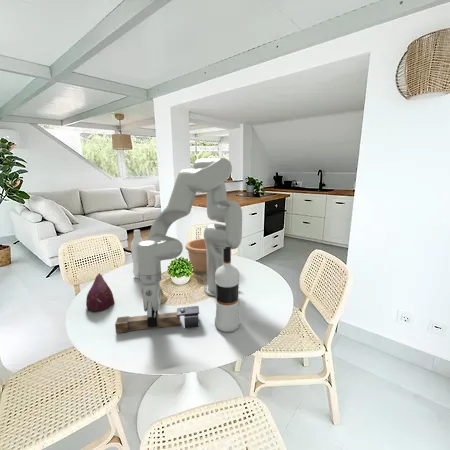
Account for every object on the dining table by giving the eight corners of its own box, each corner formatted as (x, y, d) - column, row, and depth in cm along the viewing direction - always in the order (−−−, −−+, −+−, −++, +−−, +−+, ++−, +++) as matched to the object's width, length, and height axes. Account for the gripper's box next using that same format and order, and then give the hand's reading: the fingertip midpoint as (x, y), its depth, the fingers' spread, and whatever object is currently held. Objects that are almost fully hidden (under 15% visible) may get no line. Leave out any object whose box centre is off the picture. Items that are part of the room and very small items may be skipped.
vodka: (215, 334, 87) (214, 252, 80) (214, 318, 96) (212, 243, 89) (241, 332, 88) (242, 251, 81) (238, 316, 97) (238, 242, 90)
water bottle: (150, 275, 134) (147, 229, 129) (139, 280, 128) (135, 232, 123) (141, 272, 138) (137, 228, 132) (130, 277, 132) (126, 230, 126)
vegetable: (96, 306, 111) (92, 272, 111) (119, 303, 110) (115, 269, 110) (81, 314, 100) (76, 277, 101) (106, 311, 100) (101, 274, 100)
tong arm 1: (180, 322, 93) (179, 314, 92) (180, 325, 91) (179, 317, 90) (117, 329, 90) (116, 320, 89) (116, 332, 88) (115, 324, 87)
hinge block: (198, 315, 98) (198, 302, 96) (199, 327, 91) (199, 313, 90) (177, 318, 97) (177, 304, 95) (177, 329, 90) (176, 315, 89)
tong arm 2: (180, 319, 95) (179, 310, 94) (180, 322, 93) (179, 313, 93) (118, 325, 91) (117, 317, 91) (117, 329, 90) (116, 320, 89)
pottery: (229, 273, 136) (229, 248, 132) (188, 278, 131) (187, 251, 128) (220, 259, 156) (220, 237, 153) (184, 262, 151) (183, 239, 148)
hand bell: (143, 301, 108) (140, 267, 104) (156, 293, 115) (153, 260, 112) (158, 306, 105) (155, 270, 101) (171, 297, 112) (169, 263, 108)
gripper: (158, 286, 80) (161, 336, 84) (163, 266, 96) (165, 310, 100) (134, 287, 79) (138, 339, 83) (142, 267, 95) (145, 311, 99)
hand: (153, 322), depth 91 cm, fingers open, 3 cm apart
